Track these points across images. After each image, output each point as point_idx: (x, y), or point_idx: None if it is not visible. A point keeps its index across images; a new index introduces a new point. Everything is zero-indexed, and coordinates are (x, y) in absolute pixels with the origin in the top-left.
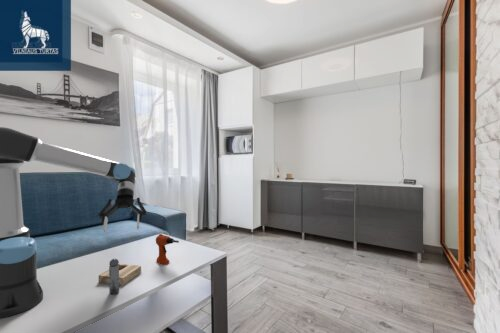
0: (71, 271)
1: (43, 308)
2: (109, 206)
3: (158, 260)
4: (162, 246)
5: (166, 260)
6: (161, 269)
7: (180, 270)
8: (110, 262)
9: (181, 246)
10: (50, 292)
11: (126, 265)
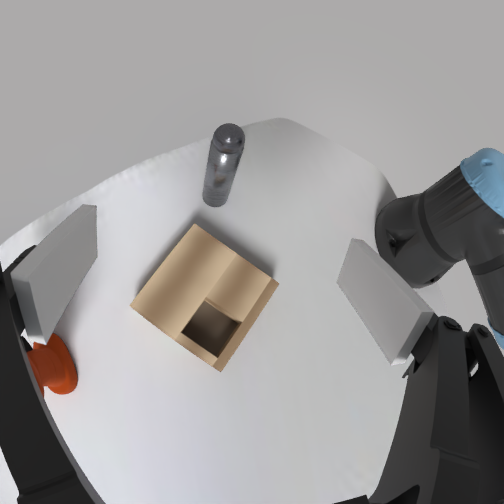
0: (369, 408)
1: (356, 203)
2: (489, 473)
3: (66, 360)
4: None
5: None
6: None
7: None
8: (241, 129)
9: (4, 478)
10: None
11: (187, 338)
